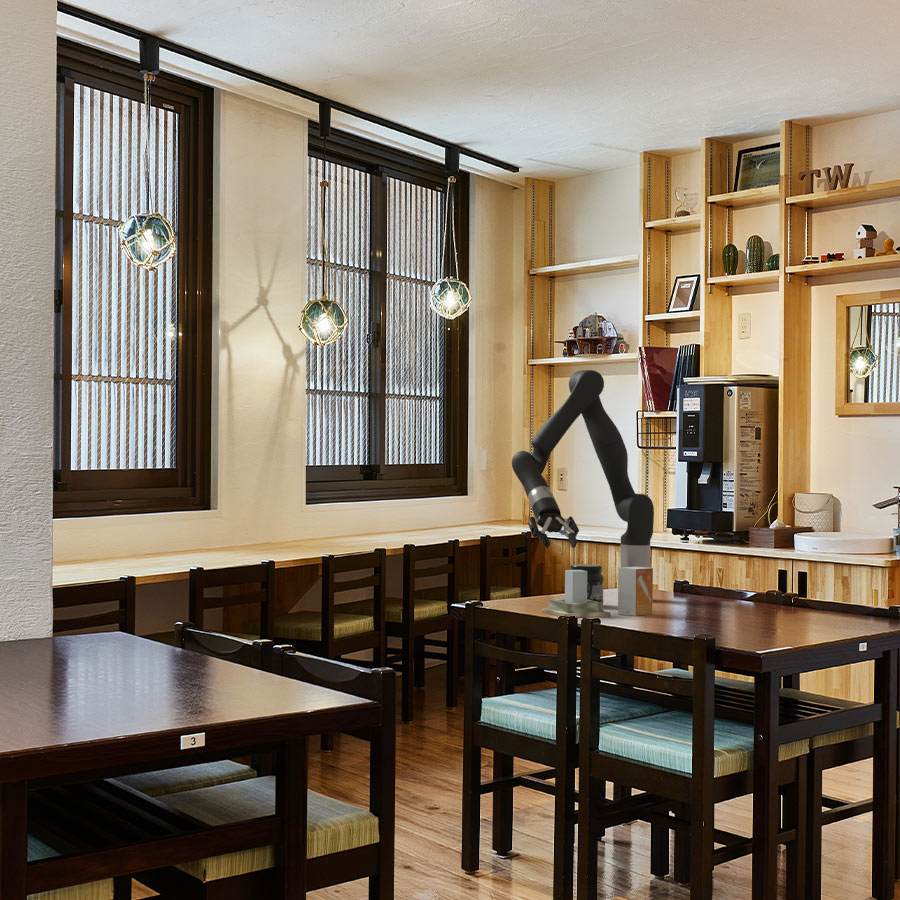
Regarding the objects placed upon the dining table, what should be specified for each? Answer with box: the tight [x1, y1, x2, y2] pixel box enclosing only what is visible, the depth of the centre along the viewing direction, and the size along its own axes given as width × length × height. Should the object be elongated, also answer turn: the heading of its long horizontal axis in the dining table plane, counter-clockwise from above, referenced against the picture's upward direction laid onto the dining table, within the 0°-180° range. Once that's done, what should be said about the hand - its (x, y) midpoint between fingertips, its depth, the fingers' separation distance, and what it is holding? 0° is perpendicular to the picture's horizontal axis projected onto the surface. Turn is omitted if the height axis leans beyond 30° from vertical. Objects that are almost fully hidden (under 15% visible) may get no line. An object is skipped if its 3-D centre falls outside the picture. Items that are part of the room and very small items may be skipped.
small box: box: [617, 567, 654, 617], centre depth 304 cm, size 8×6×13 cm
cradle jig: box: [541, 598, 612, 618], centre depth 303 cm, size 14×14×4 cm
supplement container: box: [569, 563, 605, 604], centre depth 324 cm, size 10×10×12 cm
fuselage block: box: [564, 569, 587, 603], centre depth 303 cm, size 4×4×11 cm
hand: (561, 546), depth 312 cm, fingers open, 8 cm apart
